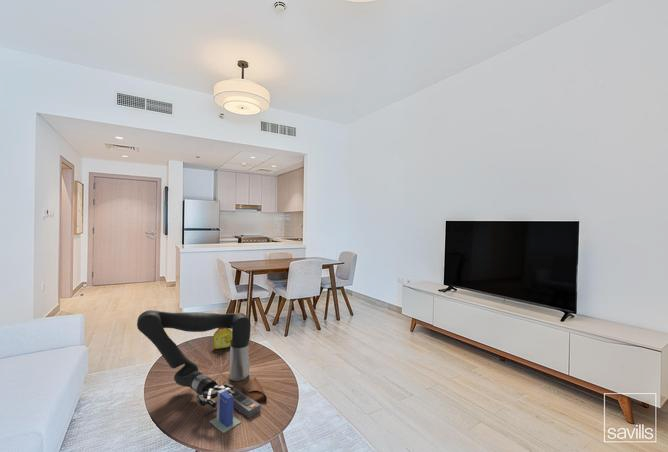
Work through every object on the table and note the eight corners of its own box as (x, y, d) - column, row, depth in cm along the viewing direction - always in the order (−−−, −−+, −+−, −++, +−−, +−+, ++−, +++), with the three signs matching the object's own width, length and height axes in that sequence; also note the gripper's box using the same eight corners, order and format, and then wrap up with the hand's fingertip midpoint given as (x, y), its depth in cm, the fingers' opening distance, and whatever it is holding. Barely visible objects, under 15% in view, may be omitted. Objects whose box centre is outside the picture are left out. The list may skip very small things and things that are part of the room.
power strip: (192, 406, 133) (192, 399, 133) (227, 389, 147) (228, 382, 146) (224, 432, 117) (224, 424, 117) (260, 411, 131) (260, 403, 131)
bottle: (213, 351, 187) (214, 319, 187) (211, 347, 193) (212, 316, 192) (232, 347, 193) (234, 317, 193) (230, 343, 199) (231, 314, 198)
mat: (227, 412, 129) (227, 411, 129) (240, 422, 123) (240, 421, 123) (209, 421, 123) (209, 421, 123) (223, 433, 117) (223, 432, 117)
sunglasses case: (239, 386, 150) (246, 373, 151) (251, 390, 153) (258, 377, 154) (248, 406, 134) (256, 392, 136) (261, 410, 137) (269, 396, 139)
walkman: (232, 423, 122) (233, 395, 122) (226, 427, 120) (227, 398, 120) (222, 415, 127) (223, 387, 127) (216, 418, 125) (217, 390, 124)
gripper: (188, 384, 128) (209, 399, 118) (218, 371, 139) (239, 384, 130) (188, 401, 128) (208, 417, 119) (218, 387, 140) (239, 401, 130)
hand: (224, 400), depth 124 cm, fingers open, 8 cm apart
